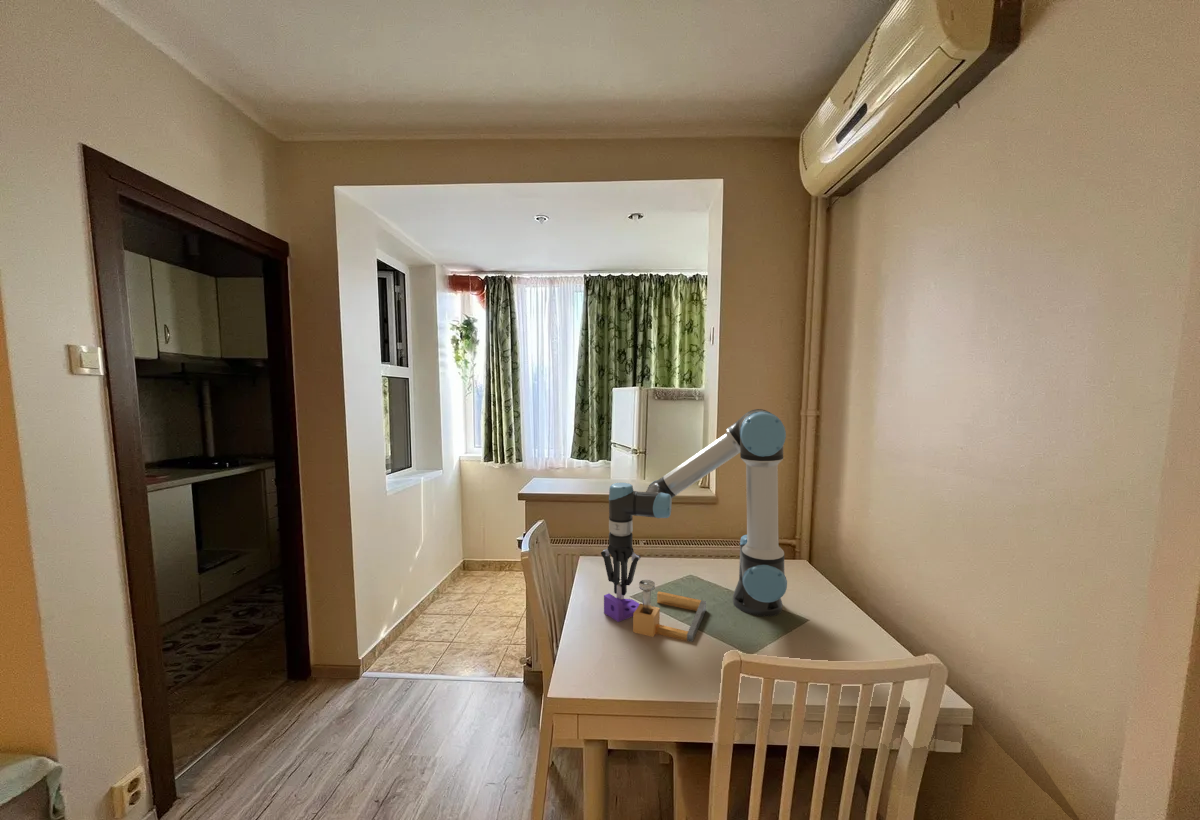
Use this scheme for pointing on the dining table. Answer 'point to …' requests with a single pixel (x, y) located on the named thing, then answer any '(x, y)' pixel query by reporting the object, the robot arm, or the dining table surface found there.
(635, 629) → the sleeve
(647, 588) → the round-headed metal pin
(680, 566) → the dining table surface
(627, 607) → the bracket
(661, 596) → the u-shaped frame
